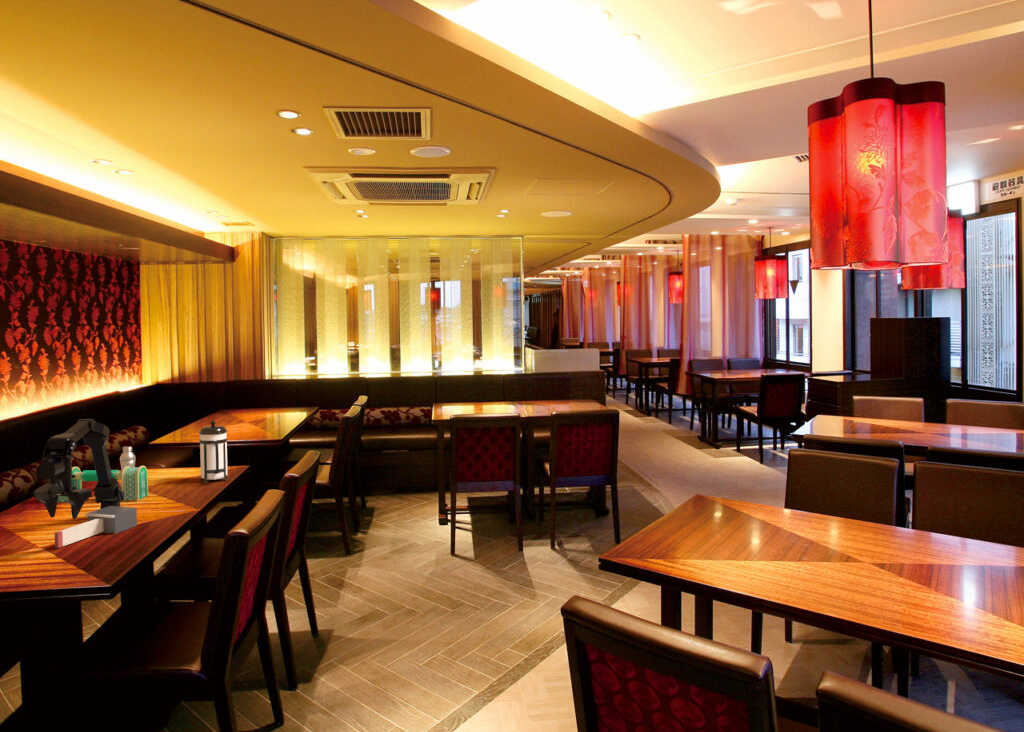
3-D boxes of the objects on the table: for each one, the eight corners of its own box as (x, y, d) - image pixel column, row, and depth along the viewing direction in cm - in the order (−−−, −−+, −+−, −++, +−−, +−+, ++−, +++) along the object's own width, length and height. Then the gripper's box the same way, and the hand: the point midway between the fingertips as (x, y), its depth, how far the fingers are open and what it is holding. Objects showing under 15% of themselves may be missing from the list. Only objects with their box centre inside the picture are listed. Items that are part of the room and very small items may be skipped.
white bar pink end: (102, 530, 234) (102, 516, 234) (105, 530, 234) (105, 517, 233) (55, 547, 215) (54, 532, 215) (58, 547, 215) (58, 532, 215)
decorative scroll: (148, 496, 285) (147, 463, 284) (138, 501, 276) (137, 467, 276) (65, 498, 282) (64, 464, 282) (53, 503, 274) (51, 469, 273)
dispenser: (110, 523, 244) (110, 505, 243) (137, 525, 241) (136, 507, 241) (85, 532, 233) (85, 513, 233) (113, 534, 230) (112, 515, 230)
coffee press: (189, 483, 310) (187, 422, 309) (213, 476, 325) (211, 418, 324) (218, 485, 305) (216, 424, 304) (241, 478, 320) (239, 419, 319)
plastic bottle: (129, 490, 295) (128, 448, 294) (117, 489, 296) (115, 447, 295) (140, 487, 301) (139, 445, 300) (128, 486, 303) (126, 445, 302)
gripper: (17, 477, 211) (18, 523, 212) (62, 479, 207) (64, 526, 207) (48, 470, 222) (49, 514, 222) (92, 472, 218) (93, 517, 218)
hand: (63, 518), depth 217 cm, fingers open, 9 cm apart
